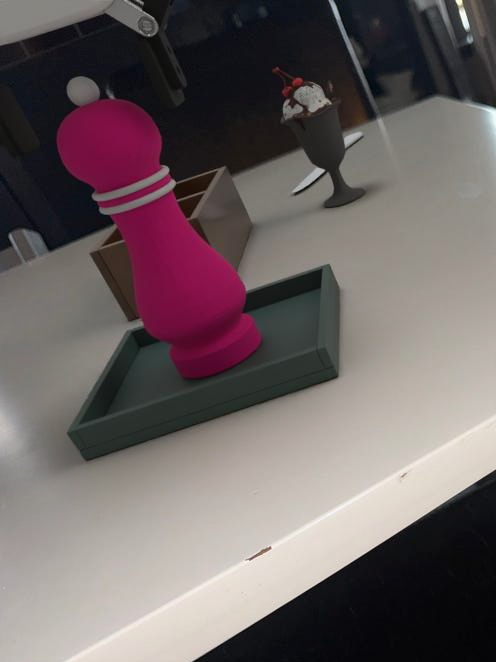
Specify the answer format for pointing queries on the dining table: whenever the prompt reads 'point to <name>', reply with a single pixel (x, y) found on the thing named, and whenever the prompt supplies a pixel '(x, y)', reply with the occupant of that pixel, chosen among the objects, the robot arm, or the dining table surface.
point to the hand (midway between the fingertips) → (101, 128)
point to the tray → (223, 388)
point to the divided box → (204, 217)
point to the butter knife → (318, 171)
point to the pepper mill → (157, 235)
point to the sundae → (319, 132)
